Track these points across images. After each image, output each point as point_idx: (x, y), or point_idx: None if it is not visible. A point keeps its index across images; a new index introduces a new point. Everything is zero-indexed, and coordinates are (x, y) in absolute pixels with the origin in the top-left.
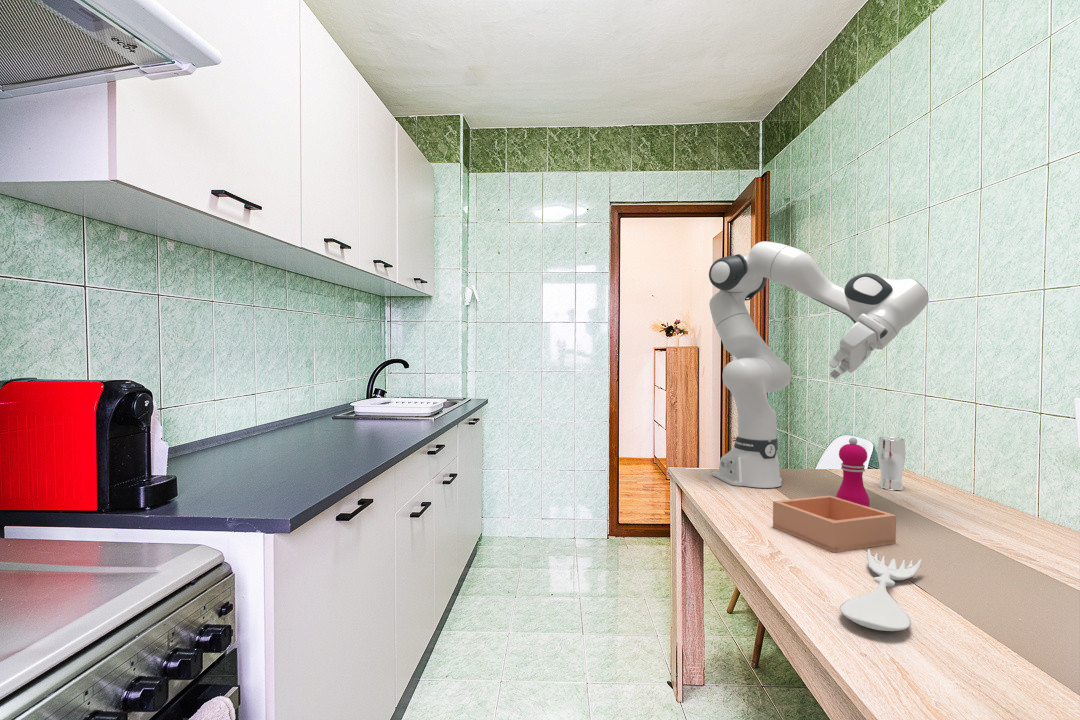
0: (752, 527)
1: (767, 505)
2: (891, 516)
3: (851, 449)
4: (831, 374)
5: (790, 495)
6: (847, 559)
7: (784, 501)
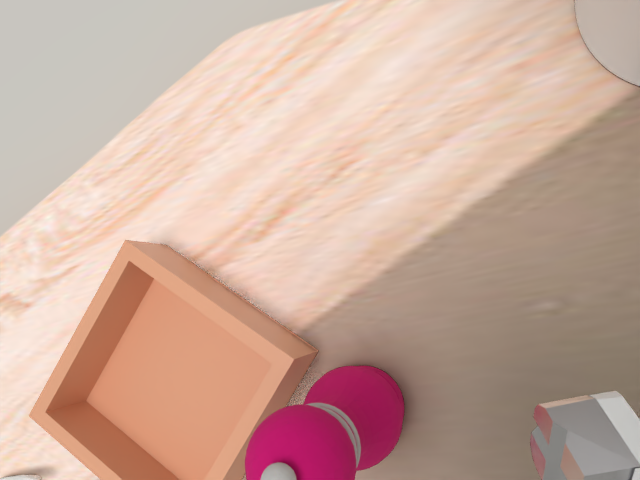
0: (136, 206)
1: (361, 159)
2: None
3: (246, 468)
4: (537, 419)
5: (556, 171)
6: None
7: (142, 265)
